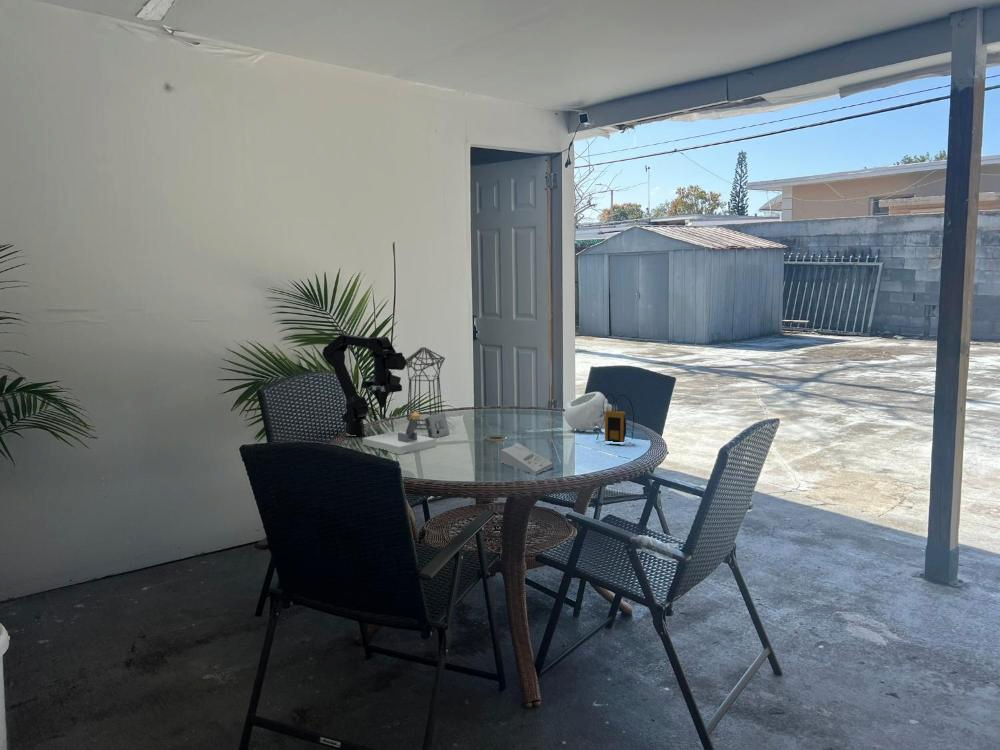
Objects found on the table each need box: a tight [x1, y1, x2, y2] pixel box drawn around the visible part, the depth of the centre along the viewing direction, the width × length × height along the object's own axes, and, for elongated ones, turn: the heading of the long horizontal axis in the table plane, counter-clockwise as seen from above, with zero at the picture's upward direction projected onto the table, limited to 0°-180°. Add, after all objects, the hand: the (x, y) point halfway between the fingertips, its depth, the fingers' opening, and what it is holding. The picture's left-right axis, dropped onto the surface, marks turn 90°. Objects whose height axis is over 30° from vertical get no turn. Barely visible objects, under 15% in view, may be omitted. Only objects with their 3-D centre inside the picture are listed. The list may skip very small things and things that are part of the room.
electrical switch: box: [424, 412, 450, 439], centre depth 309 cm, size 9×5×9 cm, turn 141°
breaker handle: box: [405, 411, 421, 439], centre depth 285 cm, size 2×3×11 cm, turn 138°
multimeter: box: [595, 393, 635, 442], centre depth 295 cm, size 15×10×20 cm
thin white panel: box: [362, 430, 437, 455], centre depth 291 cm, size 22×18×6 cm
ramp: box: [500, 442, 553, 473], centre depth 263 cm, size 28×16×5 cm, turn 14°
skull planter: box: [564, 391, 613, 431], centre depth 317 cm, size 14×20×19 cm
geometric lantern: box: [405, 346, 446, 430], centre depth 323 cm, size 16×16×35 cm
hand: (382, 407), depth 301 cm, fingers closed
